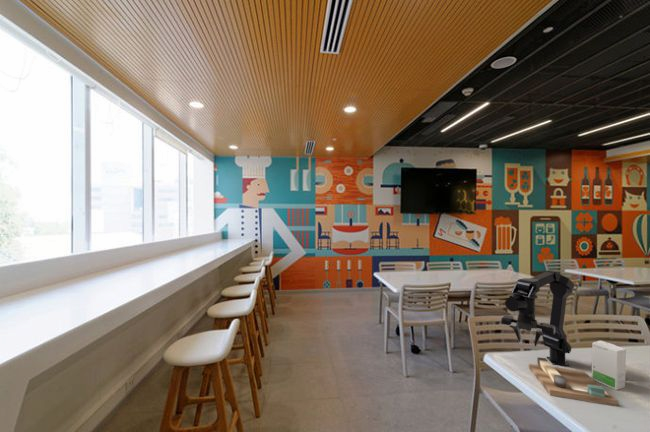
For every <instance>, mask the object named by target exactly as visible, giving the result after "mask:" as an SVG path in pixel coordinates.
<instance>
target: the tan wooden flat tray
mask: <svg viewBox="0 0 650 432" xmlns="http://www.w3.org/2000/svg"><path fill="white" fill-rule="evenodd" d="M553 367H554V368H555V369H556V370H557V372H558V373H559V374H560V375H561V376H563V377H565V378H566V388H561V387H558V386H556V385H555V384H554V382H553V381H552V380H551V379H550V377H549V376H548V375H547V374H546V373H545V372H544V371H543V369H542V368H541V367H540V366H539V365H538V364H532V363H528V369H529V371H530V372H531V373H532V374H533V375H534V377H535V378H536V379H537V381H538V382H539V383H540V385H542V387H543V388H544V390H545V391H546V393H548V394H549V396H553V397H557V398H558V397H560V398H566V399H572V400H578V401H584V402H589V403H597V404H602V405H603V404H604V405H608V406H614V407H617V406H618V401H617V399H616V398H615V397H614V396H613V395H611V393H609V392H608V391H607V390H606V389H604V387H603V386H601V385H600V383H599V382H597V381H595V380H593V379H592V378H591V377H592V376H590V375H589V374H588V373H586V372H585V371H584V370H579V369H578V370H577V369H570V368H563V367H555V366H553Z"/></svg>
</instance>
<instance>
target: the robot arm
mask: <svg viewBox="0 0 650 432" xmlns="http://www.w3.org/2000/svg"><path fill="white" fill-rule="evenodd" d="M546 285H549V290H550V292H551V294H552V301H551V311H550V318H549V323H546V322H544V323H542V324H540V323H539V324H538V321H537V319H536V299H538V295H537V293H538V292H540V289H541V288H542V287H544V286H546ZM574 288H575V283H574V282H573V281H572V280H571V279H570V278H568V277H567V276H565V275H563V274H561V273H560V272H558V271H554V270H545V271H544V272H542V273H539V274H538V275H535V276H533V277H528V278H526V277H525V278H519V279H518V280H516V282H515V284H514V286H513V289H512V291H511V293H510V294H509V297H508V298H506V299H505V301H504V305H505V307H506V309H507V310H509V312H518V316H517V319H515V316H512V315H507V314H505V315H503V316H502V317H501V325H507V326H508V327H509V328H511V329H512V330H513V331H514V333H515V335H516V338H517V341H518V343H521V341H522V340H521V338H522V337H521V330H525V331H526V332H530V331H532V329H536V331H535V338H534V347H537V345H538V343H539V340H540V338H541V336H542V341H543V345H544V347H547V348H549V356H546V357H545V358H546V359H547V360H548V362H549V363H550V364H551V365H556V366H557V365H558V366H566V367H570V364H569V363H568V362H567V361H566V354H571V352H572V346H571V345H570V344H569V342H568V341H567V340H568V336H567V334H566V332H565V330H564V323H565V322H564V321H565V314H566V307H567V298H569V296H571V295H572V294H573V290H574Z"/></svg>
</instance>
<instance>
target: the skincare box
mask: <svg viewBox="0 0 650 432" xmlns="http://www.w3.org/2000/svg"><path fill="white" fill-rule="evenodd" d="M591 347H592V349H591V376H590V377H591V378H592V379H593V380H594V381H596V382H597V383H598V384H602V385H603V386H607V387H609V388H611V389H613V390H615V391H618V390H621V389H623V388H626V371H627V369H626V366H627V365H626V364H627V363H626V362H627V349H626V348H624V347H621V346H618V345H616V344H614V343H609V342H606V341H604V340H602V339H601V340H597V341H593V342H592V345H591Z"/></svg>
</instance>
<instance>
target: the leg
mask: <svg viewBox="0 0 650 432" xmlns="http://www.w3.org/2000/svg"><path fill="white" fill-rule="evenodd" d="M537 365H539V366H540V367H541V368H542V369H543V371H544V372H545V373H546V374H547V375H548V376H549V377H550V379H551V380H552V381H553V382H554V384H555V385H556V386H558V387H561V388H566V378H565V377H563V376H561V375H560V374H559V373H558V372H557V370H556V369H555V368H554V367H555V366H553V364H552V363H551V362H550V361H549V360H548V359H547V358H546V357H537Z"/></svg>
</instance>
